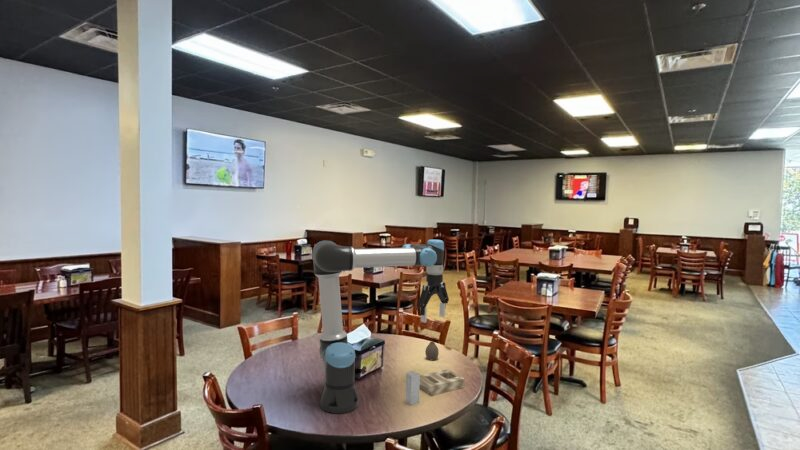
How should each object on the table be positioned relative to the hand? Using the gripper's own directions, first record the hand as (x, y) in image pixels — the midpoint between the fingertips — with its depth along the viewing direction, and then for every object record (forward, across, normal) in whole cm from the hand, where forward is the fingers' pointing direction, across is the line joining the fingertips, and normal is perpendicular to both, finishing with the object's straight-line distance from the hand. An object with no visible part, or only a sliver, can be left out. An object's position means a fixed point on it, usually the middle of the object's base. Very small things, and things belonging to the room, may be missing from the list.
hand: (432, 319), depth 196 cm
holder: (+28, -3, -7) cm, 29 cm away
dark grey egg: (+28, +21, +16) cm, 39 cm away
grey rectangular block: (+28, -23, -9) cm, 37 cm away
